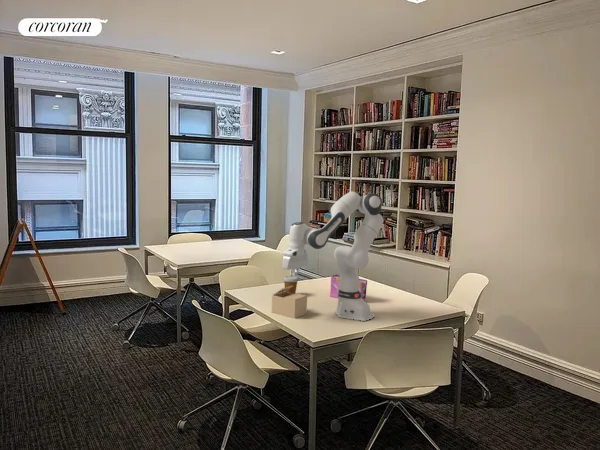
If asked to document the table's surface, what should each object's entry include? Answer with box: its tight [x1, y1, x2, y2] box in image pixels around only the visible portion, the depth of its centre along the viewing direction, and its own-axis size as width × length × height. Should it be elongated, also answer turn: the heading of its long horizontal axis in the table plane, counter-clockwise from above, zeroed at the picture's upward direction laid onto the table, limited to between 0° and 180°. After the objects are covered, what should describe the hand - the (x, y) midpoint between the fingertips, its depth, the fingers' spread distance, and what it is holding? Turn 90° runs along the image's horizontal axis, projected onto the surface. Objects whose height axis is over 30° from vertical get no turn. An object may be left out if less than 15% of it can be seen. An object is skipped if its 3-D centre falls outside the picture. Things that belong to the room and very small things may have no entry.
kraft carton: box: [271, 291, 308, 319], centre depth 283 cm, size 16×12×10 cm
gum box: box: [329, 274, 368, 302], centre depth 320 cm, size 24×8×14 cm, turn 56°
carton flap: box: [271, 285, 293, 296], centre depth 285 cm, size 8×11×1 cm
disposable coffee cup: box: [283, 275, 299, 294], centre depth 322 cm, size 10×10×12 cm
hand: (294, 275), depth 279 cm, fingers closed
